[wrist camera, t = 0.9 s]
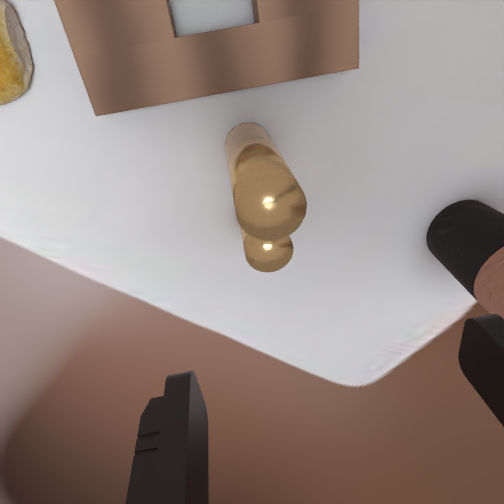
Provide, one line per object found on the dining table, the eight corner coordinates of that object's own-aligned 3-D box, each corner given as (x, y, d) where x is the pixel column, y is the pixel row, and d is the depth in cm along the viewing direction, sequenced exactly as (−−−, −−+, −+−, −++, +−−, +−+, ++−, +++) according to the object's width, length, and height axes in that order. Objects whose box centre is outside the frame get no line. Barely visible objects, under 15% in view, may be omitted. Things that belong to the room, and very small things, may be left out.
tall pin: (266, 118, 31) (303, 168, 19) (272, 163, 34) (309, 233, 22) (221, 126, 31) (229, 182, 19) (229, 171, 34) (242, 246, 22)
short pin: (276, 193, 35) (290, 226, 29) (281, 230, 37) (295, 267, 31) (235, 201, 35) (241, 235, 29) (242, 237, 37) (249, 276, 31)
